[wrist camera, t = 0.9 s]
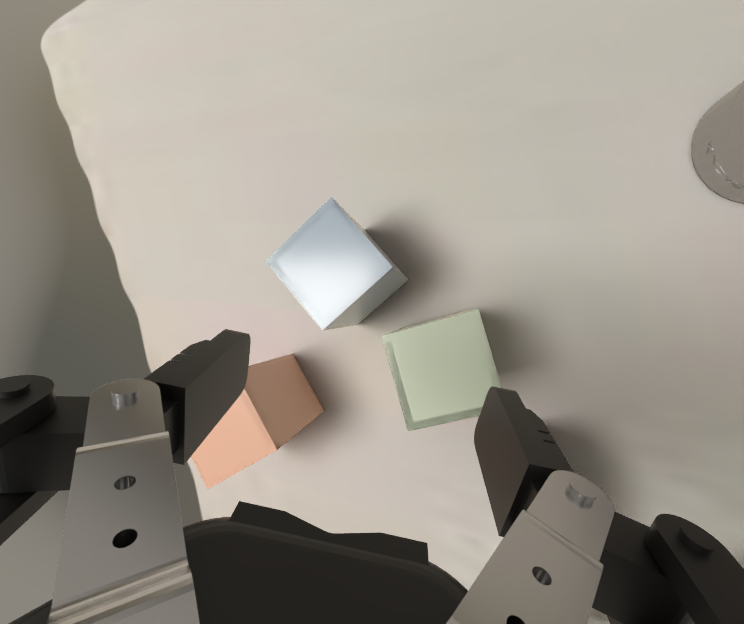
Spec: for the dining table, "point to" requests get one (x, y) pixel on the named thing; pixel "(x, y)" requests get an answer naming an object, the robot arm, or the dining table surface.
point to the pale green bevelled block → (441, 368)
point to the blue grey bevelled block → (336, 268)
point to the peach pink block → (258, 419)
